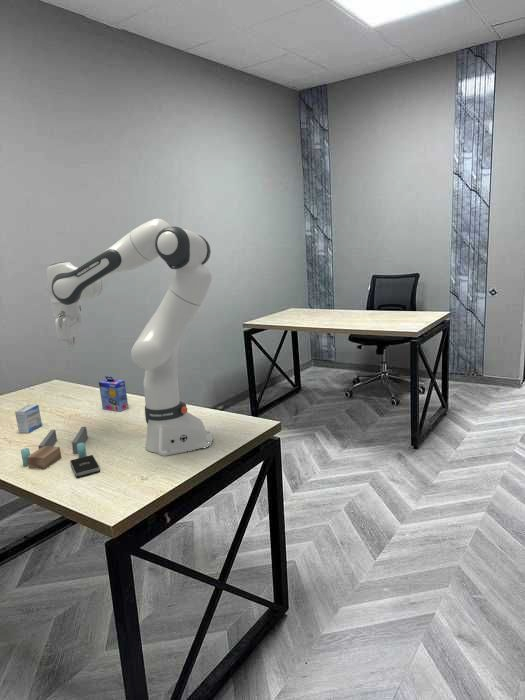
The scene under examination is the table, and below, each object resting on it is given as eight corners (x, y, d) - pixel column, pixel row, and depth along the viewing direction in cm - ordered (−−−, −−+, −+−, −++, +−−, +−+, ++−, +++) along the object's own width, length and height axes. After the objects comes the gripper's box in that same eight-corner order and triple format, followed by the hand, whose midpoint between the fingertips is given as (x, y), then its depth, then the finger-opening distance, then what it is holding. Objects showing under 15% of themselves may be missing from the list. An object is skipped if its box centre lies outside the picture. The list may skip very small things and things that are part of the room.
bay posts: (87, 456, 156) (85, 442, 155) (85, 459, 154) (83, 445, 153) (24, 463, 154) (22, 448, 153) (22, 466, 151) (19, 451, 150)
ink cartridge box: (101, 409, 201) (97, 376, 198) (111, 405, 206) (106, 372, 202) (119, 412, 196) (115, 378, 193) (129, 407, 201) (124, 374, 198)
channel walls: (87, 436, 172) (86, 426, 171) (78, 453, 159) (76, 442, 158) (52, 440, 171) (51, 429, 170) (40, 457, 157) (38, 446, 157)
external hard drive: (93, 460, 154) (92, 454, 154) (100, 473, 145) (99, 467, 144) (70, 466, 151) (69, 460, 150) (76, 480, 141) (75, 474, 141)
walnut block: (61, 458, 156) (59, 447, 155) (45, 469, 149) (43, 458, 148) (45, 457, 158) (43, 446, 157) (28, 468, 150) (26, 457, 149)
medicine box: (28, 433, 179) (25, 411, 177) (18, 433, 180) (14, 411, 178) (42, 425, 186) (38, 404, 184) (32, 425, 187) (28, 404, 185)
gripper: (67, 313, 157) (74, 354, 160) (81, 305, 176) (87, 342, 180) (47, 314, 156) (54, 356, 159) (64, 307, 176) (70, 344, 179)
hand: (72, 348), depth 169 cm, fingers closed
